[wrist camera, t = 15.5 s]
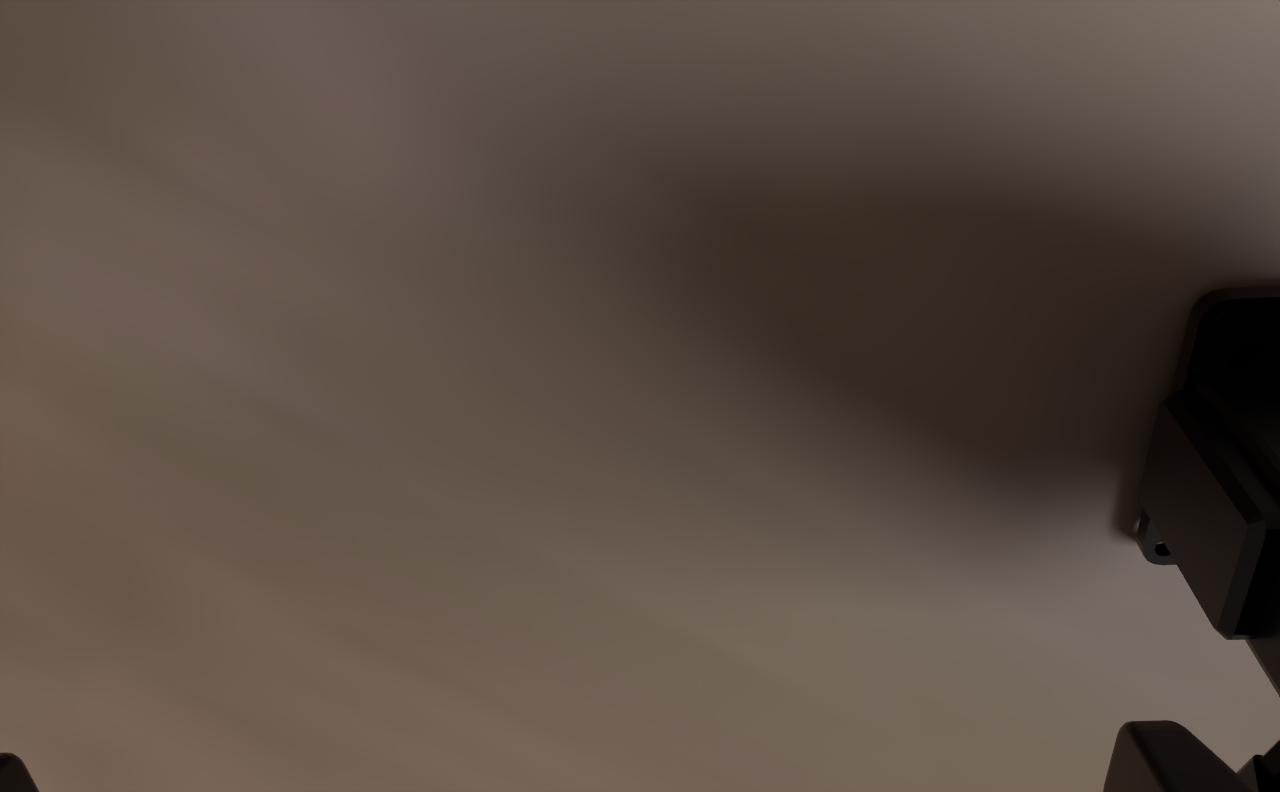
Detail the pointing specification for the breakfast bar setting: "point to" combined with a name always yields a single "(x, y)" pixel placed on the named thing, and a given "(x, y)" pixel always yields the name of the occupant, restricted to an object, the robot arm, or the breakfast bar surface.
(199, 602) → the breakfast bar surface
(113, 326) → the breakfast bar surface
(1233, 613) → the robot arm
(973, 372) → the breakfast bar surface
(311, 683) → the breakfast bar surface
